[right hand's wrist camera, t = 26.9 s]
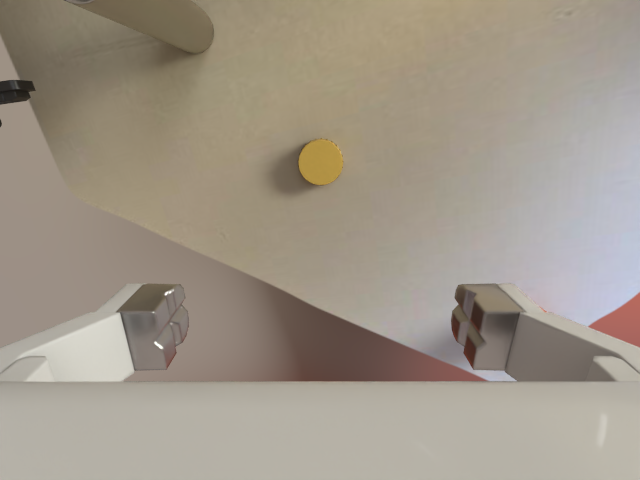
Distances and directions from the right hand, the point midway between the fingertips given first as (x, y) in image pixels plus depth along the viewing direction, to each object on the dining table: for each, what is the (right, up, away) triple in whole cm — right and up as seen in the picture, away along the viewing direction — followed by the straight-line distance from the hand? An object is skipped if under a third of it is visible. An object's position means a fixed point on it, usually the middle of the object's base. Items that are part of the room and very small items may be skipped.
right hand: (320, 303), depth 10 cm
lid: (0, +10, +27) cm, 29 cm away
